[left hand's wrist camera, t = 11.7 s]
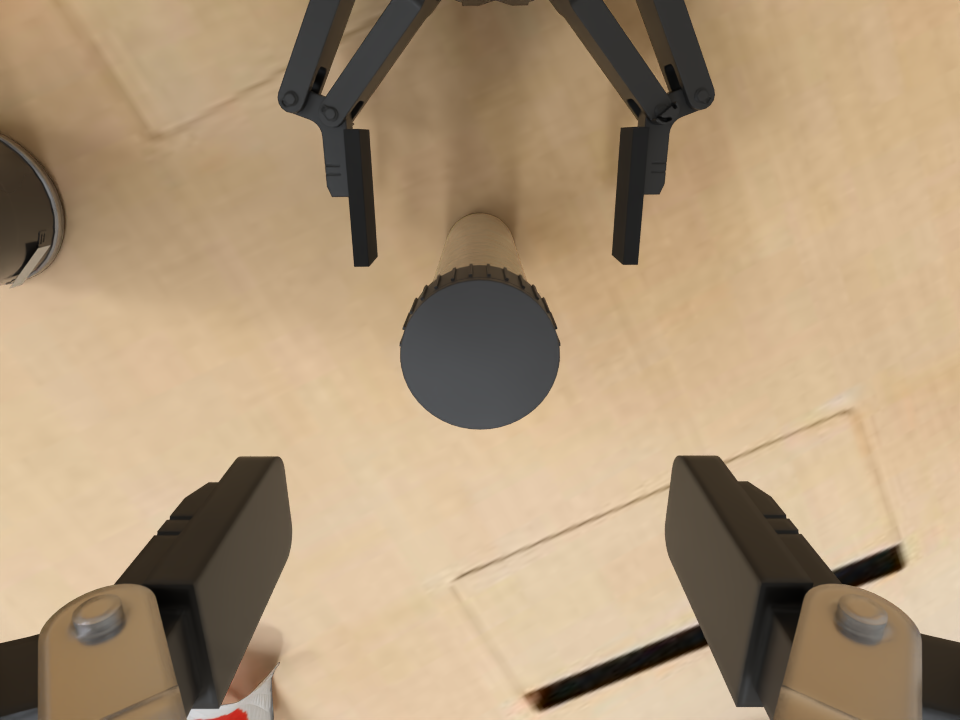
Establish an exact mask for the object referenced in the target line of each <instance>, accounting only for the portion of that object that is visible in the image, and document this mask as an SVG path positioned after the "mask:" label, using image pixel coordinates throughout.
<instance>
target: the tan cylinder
mask: <svg viewBox="0 0 960 720" xmlns="http://www.w3.org/2000/svg"><path fill="white" fill-rule="evenodd" d="M469 264H473V265H487V264H490V266H494V267H499V268H502V269H503V268H504V267H506V268H507V270H508V271H510V272H512V273H514V274H517V275H518V276H519V274H520V275H522V277H523V279H524V280H526V277H525V274H524V271H523V268H522V265H521V262H520V258H519V255H518V252H517V249H516V246H515V243H514V240H513V237H512V234H511V232H510V230H509V229H508V227H507V226H506V225H505V223H503V222H502V221H501V220H500V219H498V218H497V217H495V216H493V215H490V214H485V213H475V214H470V215H467V216H465V217H463V218H462V219H460V220H459V221H458V222H457V223H455V225H454V226H453V227H452V229H451V230H450V232H449V234H448V237H447V240H446V243H445V246H444V249H443V252H442V255H441V258H440V262H439V265H438V268H437V271H436V274H435V277H434V280H436V279H437V276H438V275H441V276H442V275H444V274H446V273H448V272H450V271H452V269H453V268H454V267H456V269H458V268H461V267H466V266H469ZM434 280H433V281H434ZM526 281H527V280H526Z"/></svg>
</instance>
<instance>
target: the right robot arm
mask: <svg viewBox="0 0 960 720" xmlns="http://www.w3.org/2000/svg"><path fill="white" fill-rule="evenodd" d="M440 1H441V0H391V2H390V3H389V5H388V6H387V8H386V9H385V11H384V12H383V14H382V15H381V17H380V18H379V19H378V21H377V22H376V24H375V25H374V27H373V28H372V30H371V31H370V33H369V34H368V36H367V37H366V38H365V40H364V41H363V43H362V44H361V46H360V47H359V49H358V50H357V52H356V53H355V55H354V56H353V57H352V59H351V60H350V62H349V63H348V65H347V66H346V68H345V69H344V71H343V72H342V74H341V75H340V77H339V78H338V79H337V81H336V82H335V84H334V85H333V87H332V88H331V90H330V91H329V93H328V94H327V96H323V95H321V93H322V90H323V87H324V84H325V82H326V79H327V76H328V73H329V71H330V68H331V65H332V62H333V60H334V57H335V54H336V51H337V49H338V46H339V43H340V40H341V38H342V35H343V32H344V30H345V27H346V24H347V21H348V19H349V16H350V13H351V10H352V8H353V5H354V2H355V0H310V2H309V5H308V7H307V10H306V13H305V16H304V19H303V22H302V25H301V28H300V31H299V34H298V37H297V40H296V43H295V46H294V48H293V51H292V54H291V57H290V60H289V63H288V66H287V69H286V72H285V75H284V78H283V81H282V84H281V87H280V89H279V92H278V102H279V104H280V106H281V108H282V109H284V110H285V111H286V112H290V113H293V114H296V115H299V116H301V117H304V118H307V119H310V120H312V121H314V122H315V123H316V124H317V125H318V126H319V128H320V130H321V132H322V137H323V148H324V158H325V169H326V180H327V187H328V189H329V191H330V194H331V196H332V197H349V207H350V220H351V232H352V244H353V257H354V267H369V266H370V265H371V264H372V263H373V261H374V260H375V259H376V258H377V257H378V255H377V240H376V225H375V210H374V195H373V180H372V165H371V150H370V135H369V130H366V129H353V127H352V126H353V125H354V123H352V122H353V121H354V119H355V118H356V117H357V115H358V114H359V112H360V111H361V110H362V108H363V107H364V105H365V104H366V102H367V101H368V100H369V98H370V97H371V95H372V94H373V93H374V91H375V90H376V88H377V87H378V86H379V84H380V83H381V81H382V80H383V78H384V77H385V76H386V74H387V73H388V71H389V70H390V69H391V67H392V66H393V64H394V63H395V61H396V60H397V59H398V57H399V56H400V54H401V53H402V52H403V50H404V49H405V47H406V46H407V45H408V43H409V42H410V40H411V39H412V37H413V36H414V35H415V33H416V32H417V30H418V29H419V28H420V26H421V25H422V23H423V22H424V21H425V19H426V18H427V17H428V16H429V15H430V14H431V13H432V12H433V11H434V9H435V8H436V7H437V5H438V4H439V2H440ZM456 1H458V2H461V3H462V5H463V6H479V5H482V4H485V3H488V2H492V1H499V2H502V3H506V4H509V5H528V3H529V2H531V1H533V0H456ZM550 2H551V3H552V5H553V6H554V7H555V9H556V10H557V11H558V13H559V14H561V15H562V16H563V17H564V18H565V19H566V20H567V22H568V23H569V25H570V26H571V27H572V29H573V30H574V32H575V33H576V35H577V36H578V37H579V39H580V40H581V42H582V43H583V44H584V46H585V47H586V49H587V50H588V51H589V53H590V54H591V56H592V57H593V58H594V60H595V61H596V63H597V64H598V65H599V67H600V68H601V70H602V71H603V72H604V74H605V75H606V77H607V78H608V79H609V81H610V82H611V84H612V85H613V86H614V88H615V89H616V91H617V92H618V93H619V95H620V96H621V98H622V99H623V100H624V102H625V103H626V105H627V106H628V107H629V109H630V110H631V112H632V113H633V114H634V116H635V117H636V119H637V120H638V127H625V128H621V132H620V146H619V160H618V175H617V189H616V203H615V218H614V232H613V247H612V255H613V256H614V257H615V258H616V259H617V260H618V261H619V262H620V263H622V264H623V265H638V256H639V244H640V232H641V221H642V209H643V197H644V194H660V192H661V190H662V188H663V186H664V183H665V171H666V162H667V152H668V142H669V133H670V129H671V127H672V125H673V123H674V122H675V121H676V120H677V119H679V118H681V117H683V116H685V115H688V114H690V113H693V112H696V111H698V110H702V109H706V108H707V107H709V106H710V105H711V103H712V102H713V100H714V96H715V92H714V87H713V85H712V82H711V79H710V76H709V73H708V70H707V67H706V64H705V61H704V58H703V55H702V52H701V49H700V46H699V43H698V40H697V37H696V35H695V32H694V29H693V26H692V23H691V20H690V17H689V14H688V11H687V8H686V5H685V2H684V0H636V2H637V5H638V8H639V10H640V13H641V16H642V19H643V21H644V24H645V27H646V30H647V32H648V35H649V38H650V41H651V43H652V46H653V49H654V51H655V54H656V57H657V60H658V62H659V65H660V68H661V71H662V73H663V76H664V79H665V82H666V84H667V87H668V90H669V92H668V93H666V92H665V91H664V89H663V88H662V86H661V85H660V83H659V82H658V80H657V79H656V77H655V76H654V75H653V73H652V72H651V70H650V69H649V67H648V66H647V64H646V63H645V61H644V60H643V59H642V57H641V56H640V54H639V53H638V51H637V50H636V48H635V47H634V45H633V44H632V43H631V41H630V40H629V38H628V37H627V35H626V34H625V32H624V31H623V29H622V28H621V27H620V25H619V24H618V22H617V21H616V19H615V18H614V16H613V15H612V13H611V12H610V11H609V9H608V8H607V6H606V5H605V3H604V2H603V0H550Z"/></svg>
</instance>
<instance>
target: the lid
mask: <svg viewBox="0 0 960 720" xmlns="http://www.w3.org/2000/svg"><path fill="white" fill-rule="evenodd" d="M556 329H557V326H556V323H555V321H554V318H553V316H552V313H551V312H550V310H549V308H548V305H547V303H546V300H545V298H544V297H543V298H541V297H540V295H539V294H538V292H537V290H536V287H535V286H534V285H532V286H531V285H530V284H529V283H528V282H527V281H526V280H524V279H523V277H522V275H520V274H519V276H518V275H517V274H514V273H512V272H510V271H508V270H507V268H506V267H504V268H503V269H502V268H499V267H494V266H490V264H487V265H473V264H469V266H466V267H461V268H458V269H456V267H454V268H453V269H452V271H450V272H448V273H446V274H444V275H442V276H441V275H438V276H437V279H436V280H434V281H433V282H432V283H431V284H430V285H429V286H427V285H426V286H425V287H424V289H423V292H422V294H421V295H420V297H419V298H418V299H417V298H415V300H414V303H413V305H412V308H411V310H410V313H409V314H408V316H407V319H406V321H405V323H404V326H403V330H404V334H403V336H402V339H401V341H400V346H401V348H400V361H401V368H402V372H403V375H404V379H405V381H406V383H407V386H408V388H409V389H410V391H411V393H412V394H413V396H414V397H415V398H416V400H417V401H418V402H419V403H420V404H421V405H422V406H423V407H424V408H425V409H426V410H427V411H428V412H430V413H431V414H432V415H434V416H435V417H437V418H439V419H440V420H442V421H444V422H447V423H449V424H451V425H455V426H458V427H462V428H468V429H492V428H498V427H502V426H505V425H508V424H511V423H513V422H516V421H518V420H520V419H521V418H523V417H525V416H526V415H528V414H529V413H530V412H532V411H533V410H534V409H535V408H536V407H537V406H538V405H539V404H540V403H541V402H542V401H543V400H544V398H545V397H546V396H547V394H548V393H549V391H550V389H551V388H552V386H553V383H554V381H555V379H556V376H557V372H558V368H559V362H560V348H559V346H560V341H559V338H558V336H557V333H556Z"/></svg>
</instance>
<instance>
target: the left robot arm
mask: <svg viewBox="0 0 960 720" xmlns="http://www.w3.org/2000/svg"><path fill="white" fill-rule="evenodd" d="M63 235H64V215H63V209H62V205H61V201H60V198H59V195H58V193H57V191H56V188H55V186H54V184H53V183H52V181H51V179H50V177H49V176H48V174H47V173H46V171H45V170H44V169H43V167H42V166H41V165H40V164H39V163H38V161H37V160H36V159H35V158H34V157H33V156H32V155H31V154H30V153H29V152H28V151H26V150H25V149H24V148H23V147H22V146H20V145H19V144H17V143H16V142H15V141H13V140H11V139H10V138H8V137H6V136H4V135H2V134H0V286H1V285H4V284H12V283H13V284H12V286H11V287H10V288H13V287H16V286H19V285H22V284H23V283H24V281H25V280H26V279H29V278H31V277H34V276H36V275H37V274H39V273H41V272H42V271H43V270H45V269H46V268H47V267H48V266H49V265H50V264H51V263H52V261H53V260H54V259H55V257H56V256H57V254H58V252H59V249H60V247H61V244H62V241H63ZM10 288H9V289H10ZM157 532H158V533H157V535H154V536H153V538H152V539H151V540H150V541H149V542H148V544H147V545H146V546H145V547H144V549H143V550H142V551H141V552H140V553H139V555H138V556H137V557H136V558H135V560H134V561H133V562H132V563H131V564H130V566H129V567H128V568H127V569H126V571H125V572H124V573H123V574H122V575H121V577H120V578H119V579H118V580H117V582H116V583H115V584H114V585H111V586H106V587H103V588H100V589H96V590H94V591H91V592H88V593H86V594H84V595H82V596H80V597H78V598H76V599H74V600H73V601H71V602H69V603H68V604H66V605H65V606H63V607H62V608H61V609H59V610H58V611H57V612H56V613H55V614H54V615H52V617H51V618H50V619H49V620H48V621H47V622H46V624H45V625H44V627H43V628H42V630H41V632H40V634H38V635H34V636H30V637H26V638H22V639H17V640H13V641H8V642H4V643H0V720H187V717H188V715H189V713H190V711H191V709H219V708H220V706H221V704H222V702H223V699H224V697H225V695H226V693H227V691H228V688H229V686H230V684H231V682H232V680H233V677H234V675H235V673H236V671H237V669H238V666H239V664H240V662H241V660H242V658H243V656H244V653H245V651H246V649H247V647H248V645H249V642H250V640H251V638H252V636H253V634H254V631H255V629H256V627H257V625H258V623H259V620H260V618H261V616H262V614H263V612H264V609H265V607H266V605H267V603H268V601H269V599H270V596H271V594H272V592H273V590H274V588H275V585H276V583H277V581H278V579H279V577H280V574H281V572H282V570H283V568H284V566H285V563H286V561H287V559H288V556H289V553H290V548H291V541H292V522H291V515H290V507H289V499H288V492H287V484H286V476H285V469H284V464H283V461H282V459H281V458H280V457H238V458H237V459H236V460H235V461H234V463H233V464H232V465H231V467H230V468H229V469H228V470H227V472H226V473H225V474H224V476H223V477H222V478H221V480H220V481H219V482H209V483H207V484H206V485H204V486H202V487H201V488H199V489H198V490H196V491H195V492H193V493H192V494H190V495H189V496H187V497H186V498H184V500H183V501H182V502H181V503H180V505H179V506H178V507H177V508H176V509H175V511H174V512H173V513H172V514H171V516H170V520H166V522H165V523H164V524H163V525H162V527H161V528H160V529H159V530H158V531H157ZM665 540H666V547H667V552H668V555H669V558H670V560H671V563H672V565H673V567H674V569H675V571H676V574H677V576H678V578H679V580H680V583H681V585H682V587H683V589H684V591H685V594H686V596H687V598H688V600H689V603H690V605H691V607H692V609H693V611H694V614H695V616H696V618H697V620H698V623H699V625H700V627H701V629H702V631H703V634H704V636H705V638H706V640H707V643H708V645H709V647H710V649H711V651H712V654H713V656H714V658H715V660H716V663H717V665H718V667H719V669H720V671H721V674H722V676H723V678H724V680H725V683H726V685H727V687H728V689H729V691H730V694H731V696H732V698H733V700H734V703H735V705H736V707H764V708H765V710H766V712H767V714H768V716H769V718H770V720H960V642H955V641H951V640H946V639H942V638H937V637H933V636H929V635H924V634H920V632H919V630H918V628H917V627H916V625H915V624H914V622H913V621H912V620H911V619H910V618H909V617H908V615H906V614H905V613H904V612H903V611H902V610H901V609H899V608H898V607H897V606H895V605H894V604H892V603H891V602H889V601H887V600H886V599H884V598H882V597H880V596H878V595H876V594H874V593H872V592H869V591H866V590H864V589H860V588H857V587H854V586H849V585H843V584H842V583H841V582H840V581H839V580H838V579H837V577H836V576H835V575H834V574H833V572H832V571H831V570H830V569H829V567H828V566H827V565H826V564H825V562H824V561H823V560H822V559H821V558H820V556H819V555H818V554H817V553H816V551H815V550H814V549H813V548H812V546H811V545H810V544H809V543H808V542H807V540H806V539H805V538H804V537H803V535H802V534H799V533H798V529H797V528H796V527H795V525H794V524H793V523H792V522H791V521H790V519H786V514H785V513H784V512H783V511H782V509H781V508H780V507H779V506H778V504H777V503H776V502H775V501H774V500H773V498H772V497H771V496H769V495H768V494H766V493H765V492H763V491H762V490H760V489H759V488H757V487H756V486H754V485H752V484H751V483H749V482H748V481H737V480H736V478H735V477H734V476H733V474H732V473H731V472H730V470H729V469H728V468H727V466H726V465H725V464H724V462H723V461H722V460H721V458H720V457H718V456H677V457H676V458H675V460H674V463H673V467H672V474H671V482H670V490H669V498H668V506H667V513H666V521H665Z"/></svg>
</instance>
